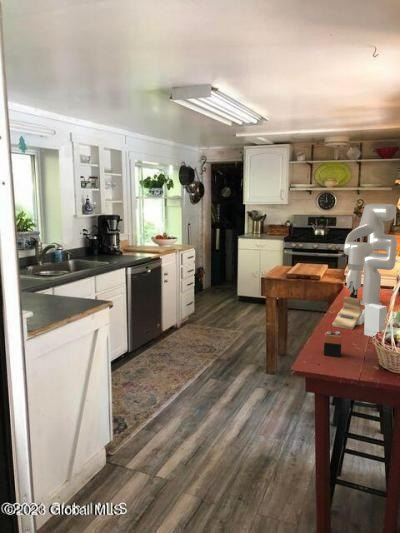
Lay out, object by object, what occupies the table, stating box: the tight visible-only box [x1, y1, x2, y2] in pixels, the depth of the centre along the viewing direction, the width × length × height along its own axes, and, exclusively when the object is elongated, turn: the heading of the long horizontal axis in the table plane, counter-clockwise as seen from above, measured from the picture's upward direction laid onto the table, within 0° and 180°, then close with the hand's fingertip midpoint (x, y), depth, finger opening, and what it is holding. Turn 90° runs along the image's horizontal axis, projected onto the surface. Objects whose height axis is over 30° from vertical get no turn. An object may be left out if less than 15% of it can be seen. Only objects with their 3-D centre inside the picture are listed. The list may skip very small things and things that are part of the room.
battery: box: [323, 330, 343, 358], centre depth 180 cm, size 4×7×10 cm, turn 71°
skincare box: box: [363, 304, 388, 338], centre depth 203 cm, size 8×6×15 cm
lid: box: [331, 296, 364, 330], centre depth 220 cm, size 17×10×8 cm, turn 143°
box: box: [337, 309, 365, 326], centre depth 231 cm, size 18×12×4 cm, turn 144°
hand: (353, 301), depth 227 cm, fingers closed
